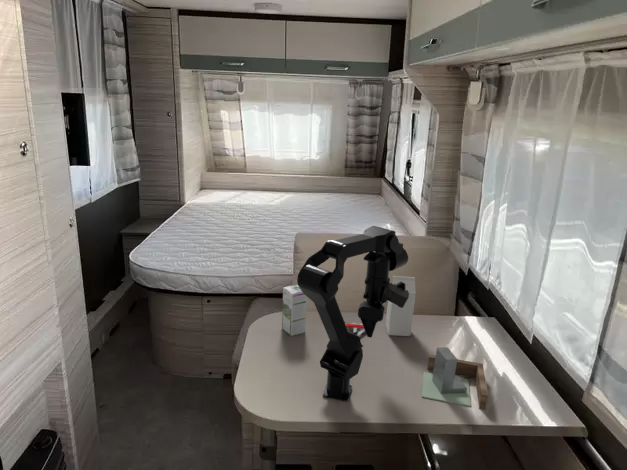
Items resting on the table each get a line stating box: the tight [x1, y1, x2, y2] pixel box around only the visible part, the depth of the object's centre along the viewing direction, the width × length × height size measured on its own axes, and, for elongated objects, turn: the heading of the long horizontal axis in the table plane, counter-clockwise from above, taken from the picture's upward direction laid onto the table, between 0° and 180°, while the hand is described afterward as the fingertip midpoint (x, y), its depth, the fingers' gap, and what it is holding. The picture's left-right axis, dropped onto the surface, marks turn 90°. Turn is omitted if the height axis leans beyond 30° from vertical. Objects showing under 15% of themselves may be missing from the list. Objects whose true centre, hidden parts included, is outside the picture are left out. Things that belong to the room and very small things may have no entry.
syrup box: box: [281, 284, 308, 337], centre depth 152 cm, size 6×6×14 cm
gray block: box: [432, 346, 467, 394], centre depth 126 cm, size 7×6×10 cm
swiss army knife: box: [345, 322, 366, 337], centre depth 156 cm, size 12×14×2 cm
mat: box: [421, 371, 472, 407], centre depth 127 cm, size 12×12×1 cm
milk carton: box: [384, 275, 417, 337], centre depth 155 cm, size 7×7×19 cm
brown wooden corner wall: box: [426, 354, 489, 410], centre depth 128 cm, size 16×14×4 cm
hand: (371, 329), depth 129 cm, fingers open, 9 cm apart
